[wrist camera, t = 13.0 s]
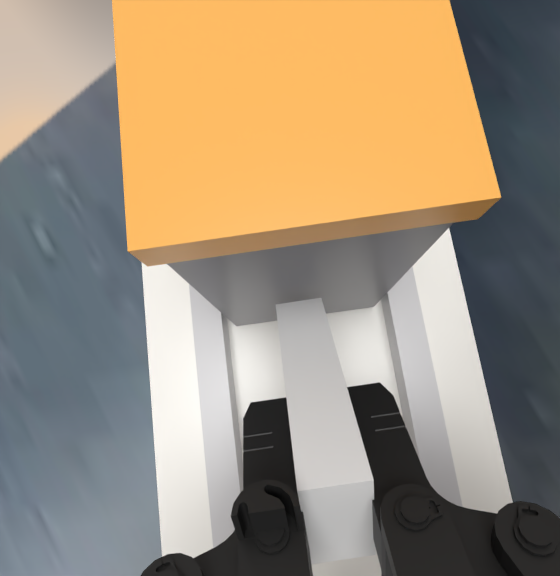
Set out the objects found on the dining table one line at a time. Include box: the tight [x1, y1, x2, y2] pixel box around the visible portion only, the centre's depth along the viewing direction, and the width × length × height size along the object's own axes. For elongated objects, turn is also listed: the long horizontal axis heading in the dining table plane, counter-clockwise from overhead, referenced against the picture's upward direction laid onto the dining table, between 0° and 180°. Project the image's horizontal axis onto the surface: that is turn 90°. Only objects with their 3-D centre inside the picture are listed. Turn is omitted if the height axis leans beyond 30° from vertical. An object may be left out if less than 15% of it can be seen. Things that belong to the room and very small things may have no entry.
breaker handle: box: [112, 0, 501, 326], centre depth 14 cm, size 5×6×12 cm
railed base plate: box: [142, 228, 513, 576], centre depth 18 cm, size 22×14×3 cm, turn 8°
